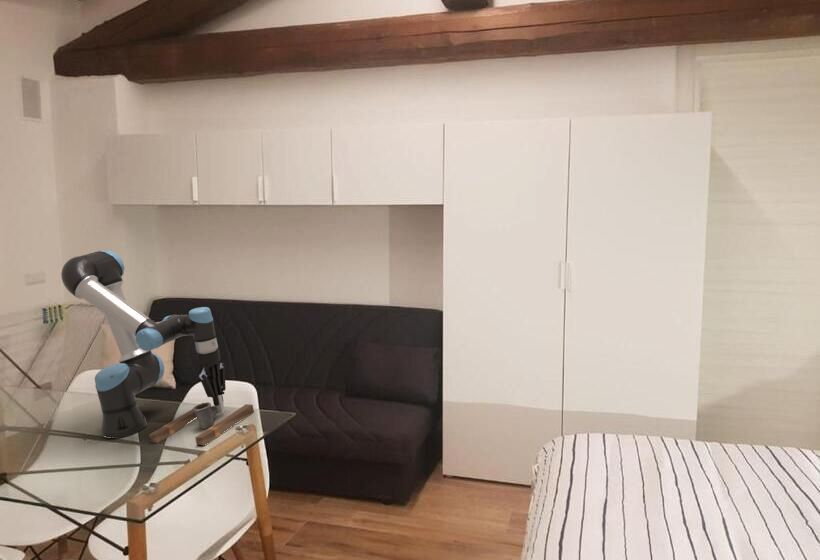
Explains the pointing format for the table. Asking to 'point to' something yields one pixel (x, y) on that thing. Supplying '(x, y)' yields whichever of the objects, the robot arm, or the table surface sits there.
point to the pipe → (205, 414)
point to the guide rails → (206, 435)
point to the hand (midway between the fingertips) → (220, 412)
